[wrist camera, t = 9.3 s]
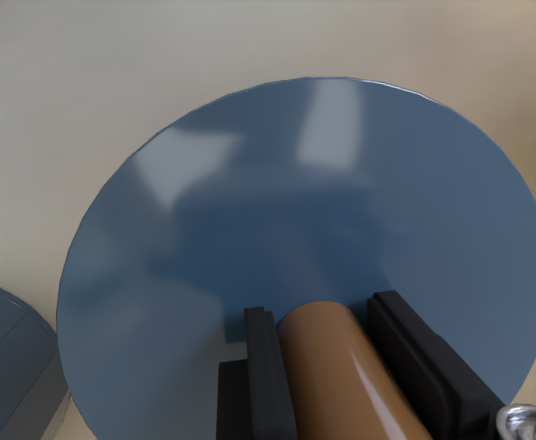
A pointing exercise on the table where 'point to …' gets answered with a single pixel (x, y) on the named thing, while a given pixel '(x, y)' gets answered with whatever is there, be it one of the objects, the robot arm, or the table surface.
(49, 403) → the crock
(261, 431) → the robot arm
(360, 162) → the crock lid
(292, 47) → the table surface
